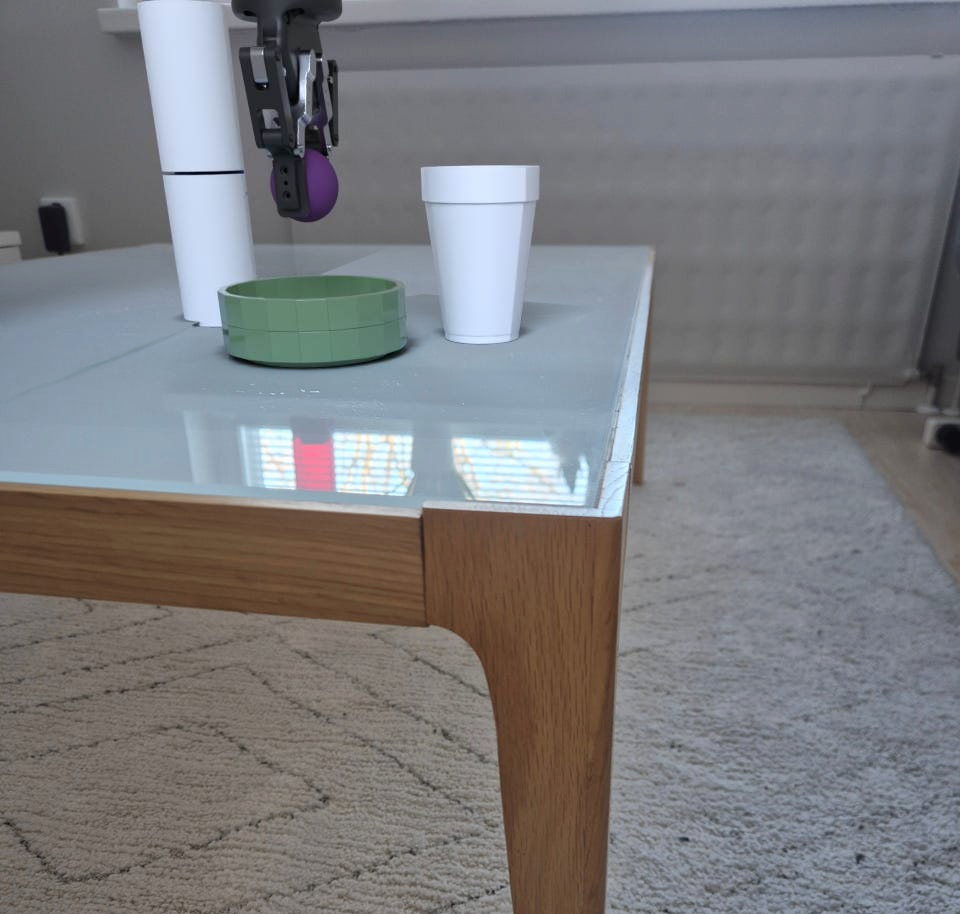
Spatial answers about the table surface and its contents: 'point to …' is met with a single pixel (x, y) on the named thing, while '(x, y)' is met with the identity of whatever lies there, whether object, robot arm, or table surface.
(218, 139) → the cylindrical container
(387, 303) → the bowl
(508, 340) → the foam cup
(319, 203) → the ball
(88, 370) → the table surface
